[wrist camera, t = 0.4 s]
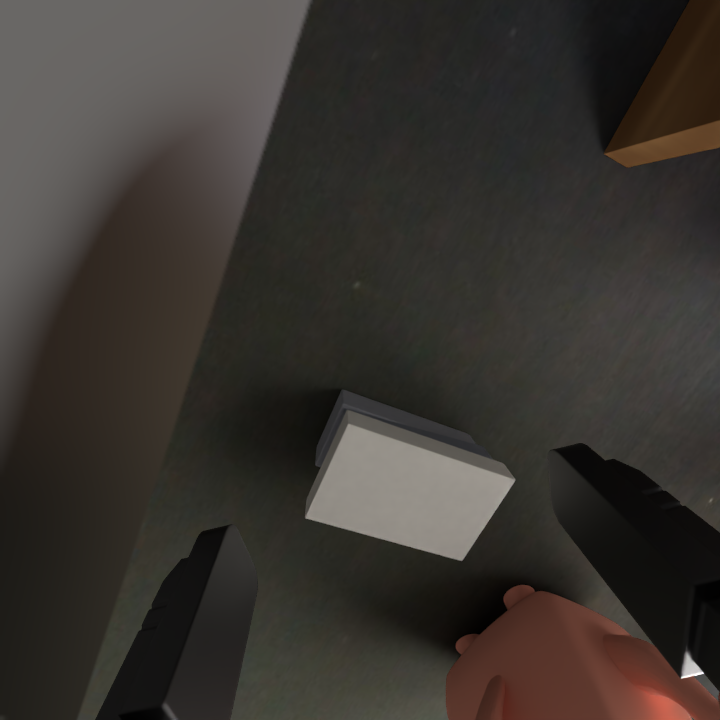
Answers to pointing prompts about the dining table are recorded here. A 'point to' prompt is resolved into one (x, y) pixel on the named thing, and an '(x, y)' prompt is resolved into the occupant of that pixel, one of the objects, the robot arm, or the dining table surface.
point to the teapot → (566, 669)
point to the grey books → (394, 418)
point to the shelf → (676, 94)
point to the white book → (406, 487)
